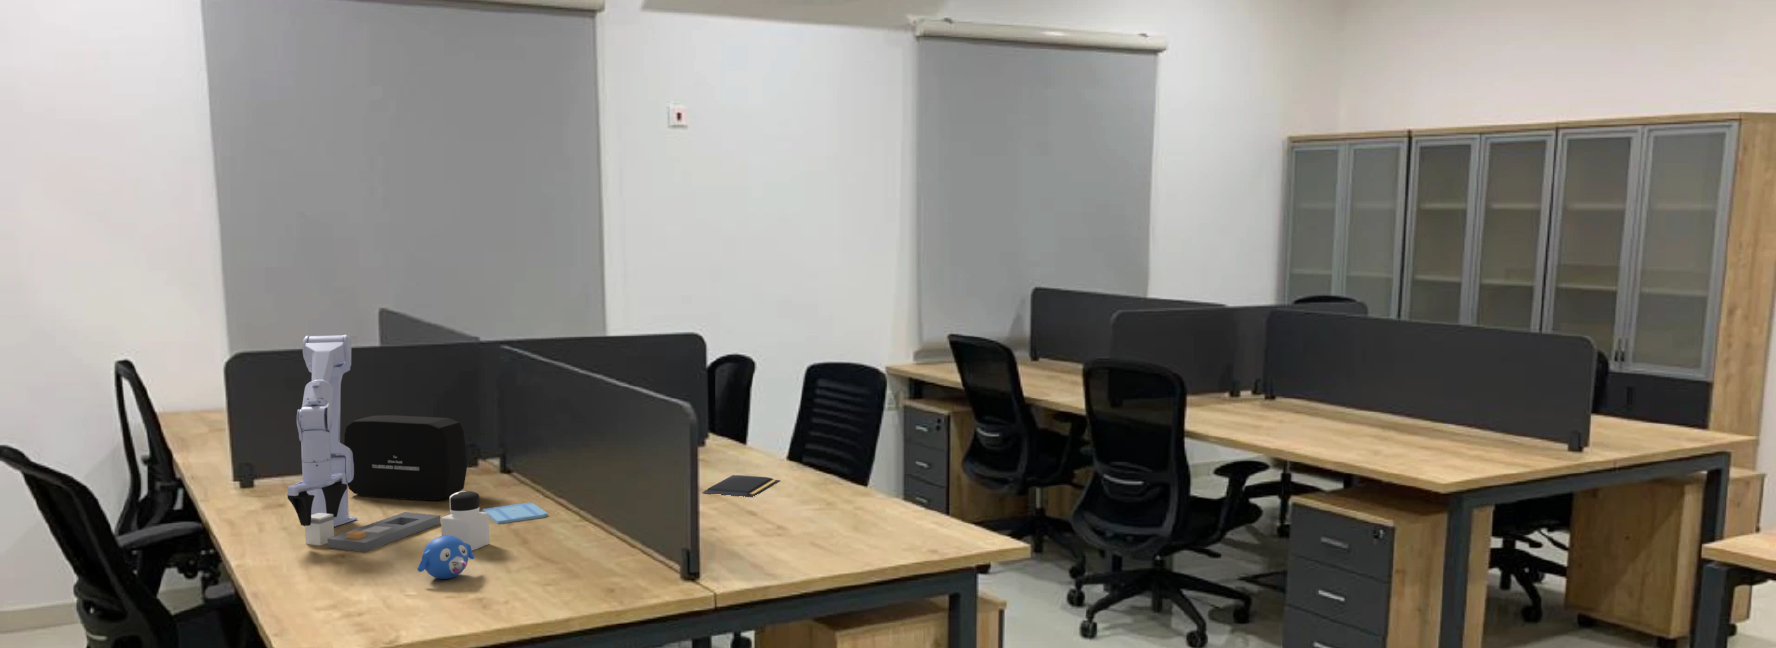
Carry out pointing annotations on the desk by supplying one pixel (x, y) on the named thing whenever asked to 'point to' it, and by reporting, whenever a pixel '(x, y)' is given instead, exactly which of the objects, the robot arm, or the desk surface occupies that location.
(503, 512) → the light blue flat rectangle
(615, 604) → the desk surface
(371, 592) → the desk surface
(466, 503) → the medicine bottle
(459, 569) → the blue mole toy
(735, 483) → the black notebook
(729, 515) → the desk surface
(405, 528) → the grey slab
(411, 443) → the black hard case
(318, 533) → the block
